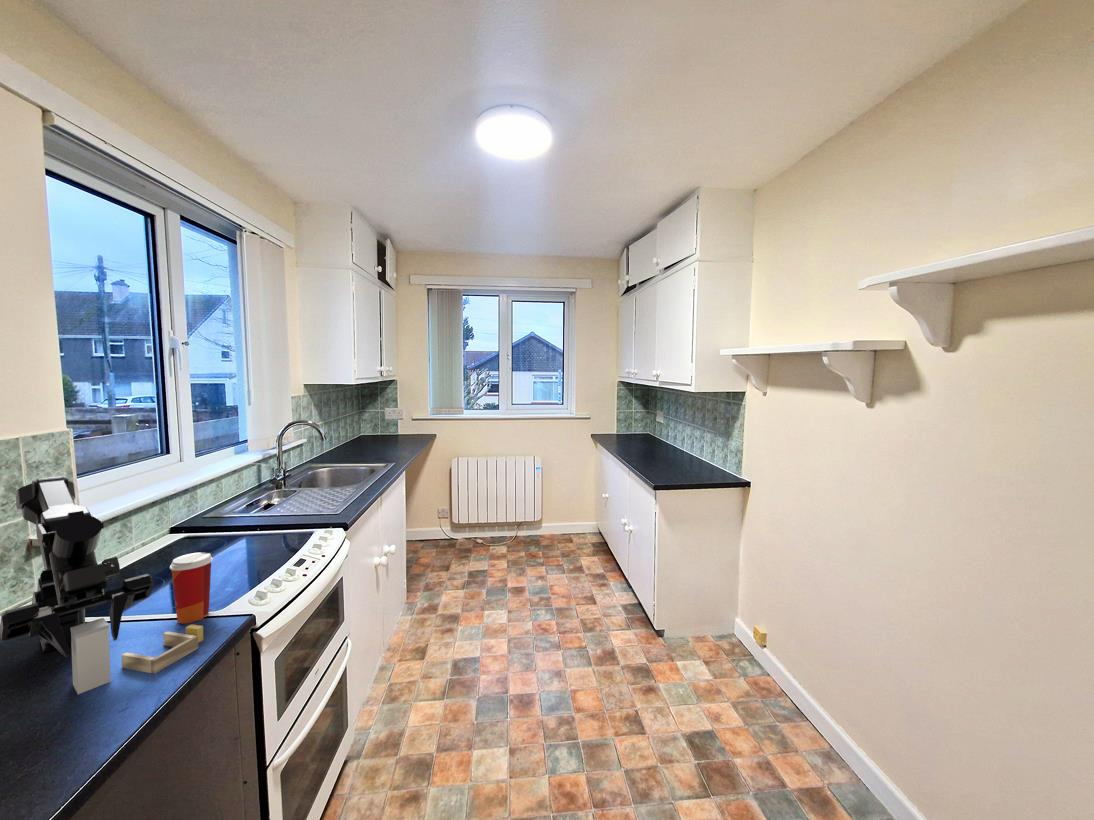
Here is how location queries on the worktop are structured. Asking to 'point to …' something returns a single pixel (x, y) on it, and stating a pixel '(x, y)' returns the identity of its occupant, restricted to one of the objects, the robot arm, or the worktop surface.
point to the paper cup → (191, 586)
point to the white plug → (90, 655)
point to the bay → (154, 664)
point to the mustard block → (195, 631)
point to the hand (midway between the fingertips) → (92, 647)
